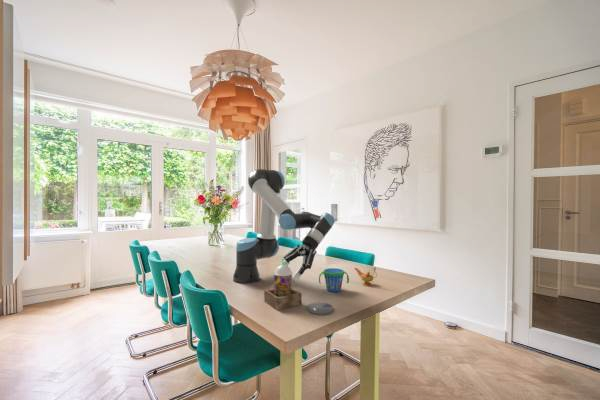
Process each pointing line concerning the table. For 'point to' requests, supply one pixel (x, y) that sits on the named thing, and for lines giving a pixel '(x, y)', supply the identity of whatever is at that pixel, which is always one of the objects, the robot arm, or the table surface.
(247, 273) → the robot arm
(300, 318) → the table surface
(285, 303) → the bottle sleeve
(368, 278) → the magic lamp
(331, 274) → the snack cup
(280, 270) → the smoothie
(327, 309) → the slate coaster
